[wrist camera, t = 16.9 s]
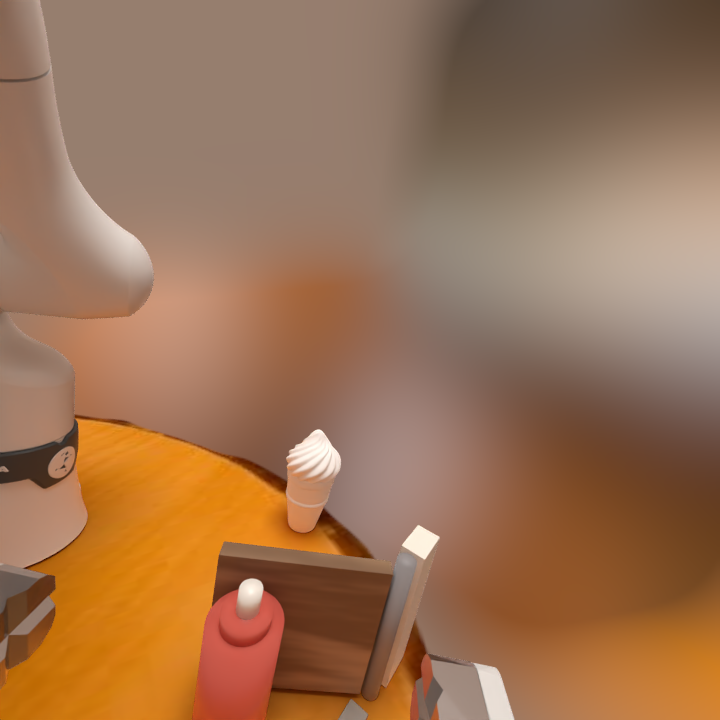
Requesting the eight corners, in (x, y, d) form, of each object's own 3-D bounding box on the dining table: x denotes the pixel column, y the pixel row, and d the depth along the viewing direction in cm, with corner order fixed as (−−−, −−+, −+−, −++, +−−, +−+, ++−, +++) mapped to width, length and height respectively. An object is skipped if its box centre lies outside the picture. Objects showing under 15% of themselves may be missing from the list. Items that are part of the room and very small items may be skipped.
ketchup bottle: (200, 797, 27) (224, 642, 24) (181, 714, 32) (199, 573, 28) (274, 744, 31) (304, 603, 27) (248, 677, 35) (271, 548, 32)
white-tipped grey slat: (213, 915, 23) (247, 734, 19) (384, 642, 42) (418, 525, 38) (238, 957, 21) (280, 773, 18) (402, 657, 40) (439, 537, 37)
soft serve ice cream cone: (327, 546, 54) (348, 450, 50) (270, 539, 53) (288, 441, 49) (327, 509, 62) (346, 424, 58) (278, 503, 61) (294, 415, 57)
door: (211, 648, 37) (229, 528, 33) (357, 661, 38) (388, 548, 35) (201, 682, 34) (219, 554, 30) (359, 694, 36) (393, 574, 32)
